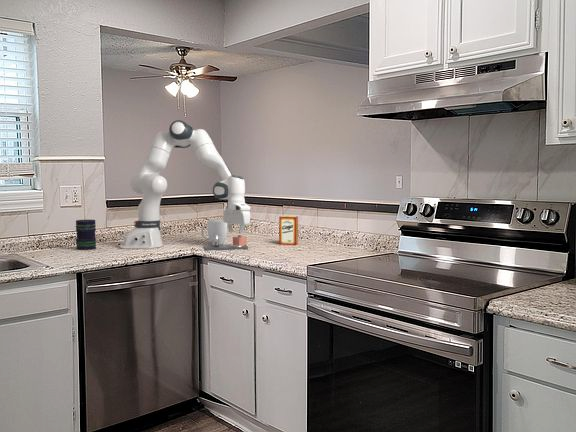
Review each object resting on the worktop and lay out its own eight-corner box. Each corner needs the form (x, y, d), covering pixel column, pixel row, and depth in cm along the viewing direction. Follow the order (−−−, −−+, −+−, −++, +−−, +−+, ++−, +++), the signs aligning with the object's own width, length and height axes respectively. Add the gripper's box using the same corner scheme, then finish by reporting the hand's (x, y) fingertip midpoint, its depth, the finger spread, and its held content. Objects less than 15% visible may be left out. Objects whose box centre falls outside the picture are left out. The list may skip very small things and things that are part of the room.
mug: (198, 244, 313) (198, 221, 311) (204, 242, 323) (204, 219, 322) (224, 245, 310) (224, 221, 309) (229, 242, 321) (229, 219, 320)
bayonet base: (205, 250, 291) (205, 236, 290) (204, 247, 303) (204, 233, 302) (248, 249, 295) (248, 235, 295) (245, 246, 307) (245, 233, 307)
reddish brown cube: (232, 244, 301) (232, 235, 301) (240, 243, 305) (240, 234, 305) (239, 245, 298) (239, 236, 297) (246, 244, 302) (246, 235, 301)
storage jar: (89, 250, 289) (89, 221, 288) (72, 249, 291) (71, 221, 290) (99, 247, 299) (99, 219, 298) (83, 247, 301) (82, 219, 300)
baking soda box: (298, 243, 318) (298, 215, 317) (296, 245, 312) (296, 216, 311) (281, 243, 320) (281, 215, 319) (279, 244, 314) (279, 216, 312)
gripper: (220, 205, 303) (220, 231, 304) (242, 207, 288) (242, 234, 289) (230, 205, 307) (229, 230, 308) (252, 207, 292) (252, 234, 293)
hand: (235, 232), depth 298 cm, fingers open, 8 cm apart
